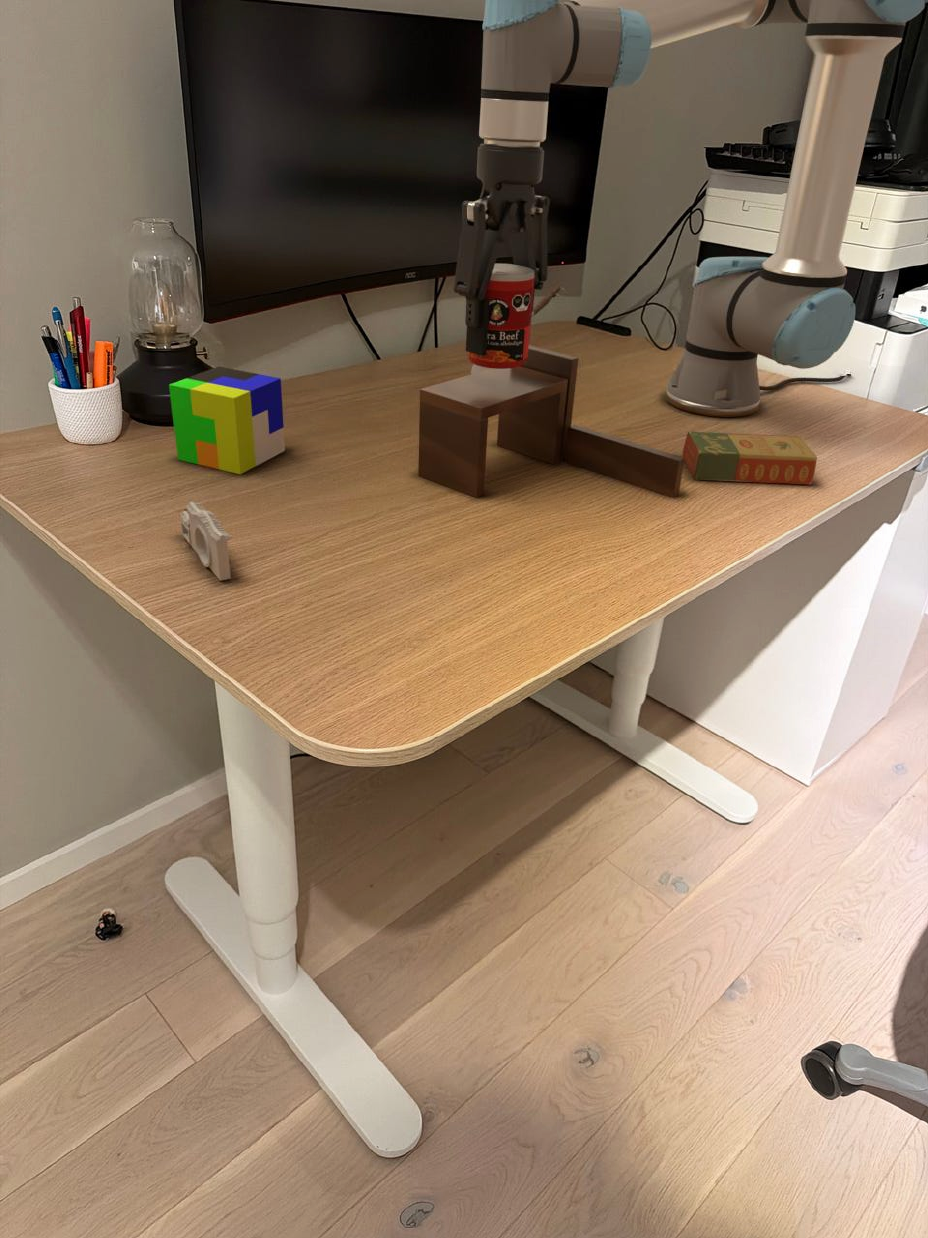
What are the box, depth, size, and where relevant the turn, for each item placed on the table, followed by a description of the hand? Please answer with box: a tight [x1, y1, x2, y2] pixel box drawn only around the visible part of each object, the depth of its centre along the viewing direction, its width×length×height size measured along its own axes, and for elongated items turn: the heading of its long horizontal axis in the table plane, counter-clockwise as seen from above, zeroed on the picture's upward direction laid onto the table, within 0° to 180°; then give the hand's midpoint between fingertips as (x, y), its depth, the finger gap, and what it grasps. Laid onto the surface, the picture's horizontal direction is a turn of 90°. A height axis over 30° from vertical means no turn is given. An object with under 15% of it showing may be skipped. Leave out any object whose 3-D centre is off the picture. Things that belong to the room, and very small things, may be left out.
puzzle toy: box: [168, 366, 286, 475], centre depth 120 cm, size 10×10×10 cm
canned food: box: [466, 263, 534, 369], centre depth 112 cm, size 8×8×11 cm
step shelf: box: [417, 344, 685, 498], centre depth 115 cm, size 20×28×14 cm
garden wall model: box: [178, 501, 232, 582], centre depth 95 cm, size 12×2×6 cm, turn 33°
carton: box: [681, 430, 818, 485], centre depth 125 cm, size 8×16×4 cm, turn 88°
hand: (498, 346), depth 114 cm, fingers closed on canned food, 8 cm apart
